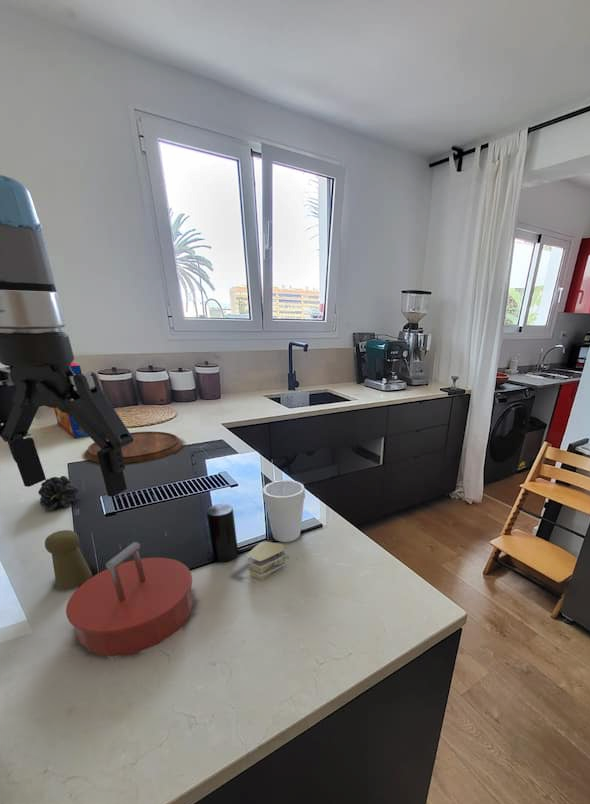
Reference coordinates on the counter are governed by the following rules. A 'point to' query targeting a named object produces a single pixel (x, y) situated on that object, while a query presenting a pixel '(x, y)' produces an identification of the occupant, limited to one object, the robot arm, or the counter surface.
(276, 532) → the foam cup
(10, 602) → the counter surface
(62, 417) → the red and blue box
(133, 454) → the cutting board
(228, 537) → the black item
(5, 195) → the robot arm
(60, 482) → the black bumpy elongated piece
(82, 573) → the cork
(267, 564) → the beige layered block
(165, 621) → the pot
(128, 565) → the lid
